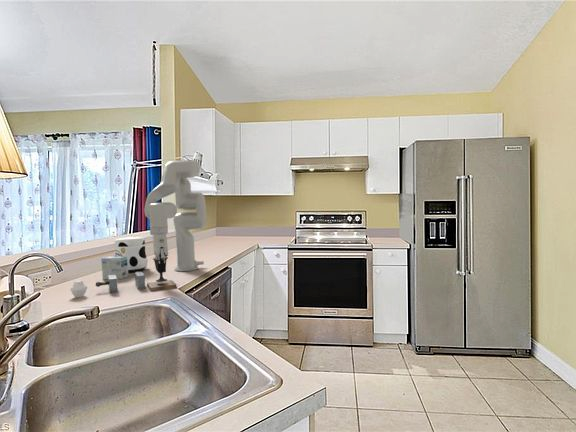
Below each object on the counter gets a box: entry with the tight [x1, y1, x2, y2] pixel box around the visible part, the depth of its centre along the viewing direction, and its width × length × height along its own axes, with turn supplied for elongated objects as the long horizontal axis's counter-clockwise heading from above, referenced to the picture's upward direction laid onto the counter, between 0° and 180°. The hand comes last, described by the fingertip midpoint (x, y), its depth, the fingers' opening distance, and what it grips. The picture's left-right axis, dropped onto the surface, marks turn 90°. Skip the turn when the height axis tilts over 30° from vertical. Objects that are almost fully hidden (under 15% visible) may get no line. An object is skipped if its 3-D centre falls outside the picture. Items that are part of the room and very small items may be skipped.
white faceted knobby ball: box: [69, 279, 88, 299], centre depth 159 cm, size 6×6×7 cm
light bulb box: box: [101, 255, 129, 280], centre depth 196 cm, size 11×7×11 cm, turn 84°
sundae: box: [152, 255, 169, 282], centre depth 172 cm, size 7×7×15 cm
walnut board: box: [146, 279, 178, 292], centre depth 172 cm, size 11×11×2 cm
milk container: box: [114, 236, 149, 273], centre depth 214 cm, size 17×17×18 cm
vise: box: [95, 271, 146, 294], centre depth 170 cm, size 20×10×6 cm, turn 117°
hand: (161, 270), depth 172 cm, fingers closed on sundae, 4 cm apart
